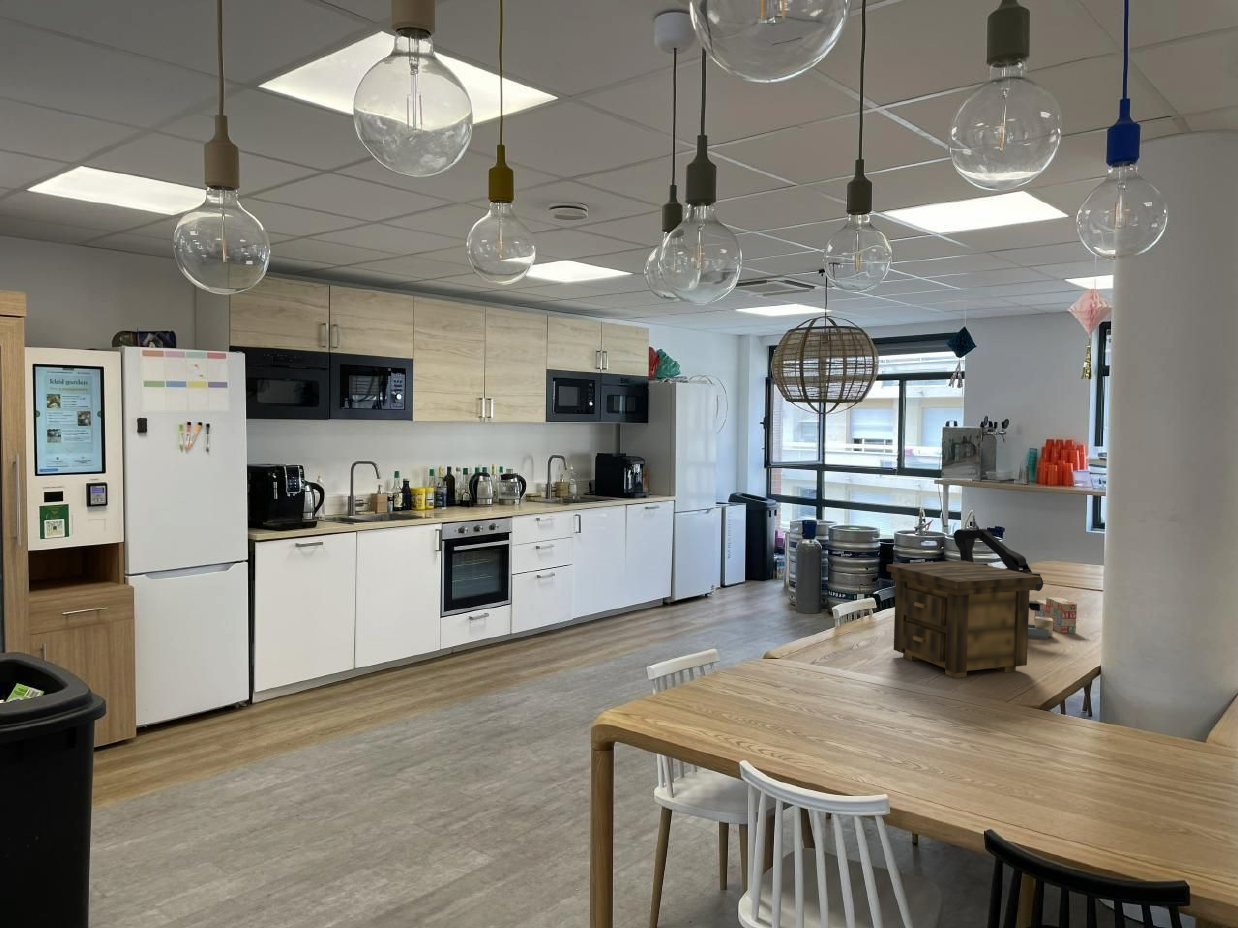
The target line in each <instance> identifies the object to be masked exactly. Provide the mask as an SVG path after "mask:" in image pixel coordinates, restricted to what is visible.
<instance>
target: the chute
mask: <svg viewBox="0 0 1238 928" xmlns="http://www.w3.org/2000/svg"><path fill="white" fill-rule="evenodd" d="M1049 637H1050V636H1049V630H1044V629H1035V623H1028V639H1029V638H1031V639H1041V640H1049Z"/></svg>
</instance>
